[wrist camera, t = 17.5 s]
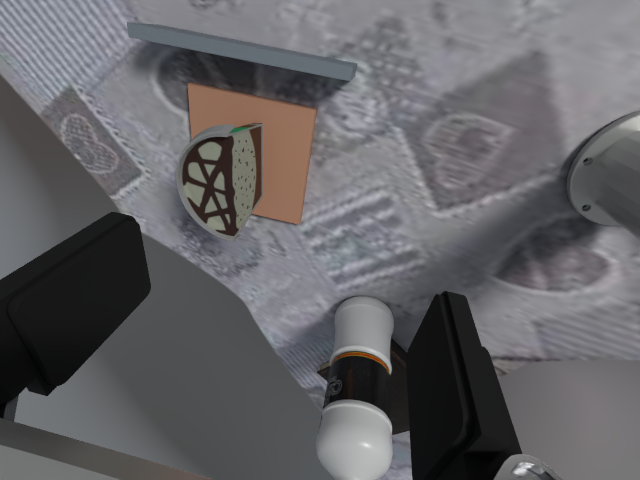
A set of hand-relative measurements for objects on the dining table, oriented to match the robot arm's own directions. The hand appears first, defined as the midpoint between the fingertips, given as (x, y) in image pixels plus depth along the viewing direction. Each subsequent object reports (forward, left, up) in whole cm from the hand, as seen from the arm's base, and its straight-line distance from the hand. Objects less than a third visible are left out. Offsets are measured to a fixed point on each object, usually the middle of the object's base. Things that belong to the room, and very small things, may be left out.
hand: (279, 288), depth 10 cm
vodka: (-8, +30, -31) cm, 44 cm away
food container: (+13, +8, -30) cm, 33 cm away
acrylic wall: (+12, -4, -30) cm, 33 cm away
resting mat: (+12, +8, -30) cm, 34 cm away
